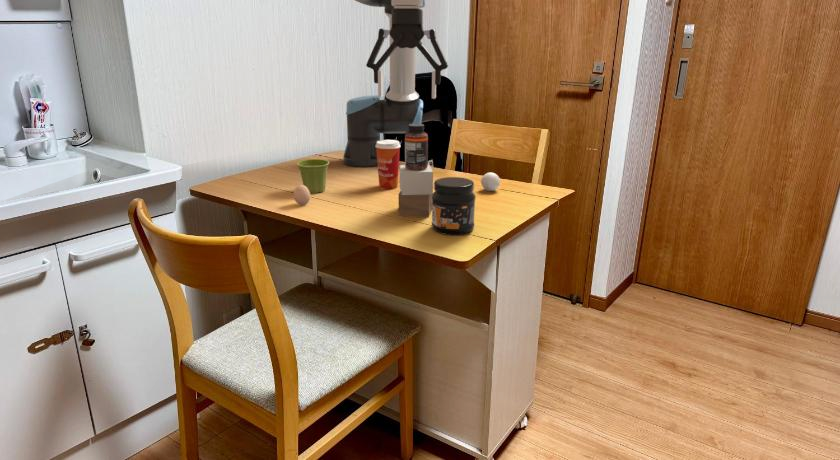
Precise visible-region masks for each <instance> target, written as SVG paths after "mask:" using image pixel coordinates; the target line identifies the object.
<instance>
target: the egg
mask: <svg viewBox="0 0 840 460" xmlns="http://www.w3.org/2000/svg"><path fill="white" fill-rule="evenodd" d="M293 199H294V201H295V203H297V204H298V205H299V206H305V205H307V204H308V203H309V202H310V200H311V193H310V192H309V190H308V188H307V187H306V186H304V185H303V184H300V185H297V186H296V188H295V189H294V192H293Z"/></svg>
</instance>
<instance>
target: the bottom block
mask: <svg viewBox="0 0 840 460" xmlns="http://www.w3.org/2000/svg"><path fill="white" fill-rule="evenodd" d="M397 195H398V216H399V217H413V216H414V217H416V218H417V217H418V218H429V217H430V215H431V214H432V194H427V195H402V193H401V190H400V191H399V193H398V194H397Z"/></svg>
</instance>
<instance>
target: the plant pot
mask: <svg viewBox="0 0 840 460" xmlns="http://www.w3.org/2000/svg"><path fill="white" fill-rule="evenodd" d="M329 165H330V161H329V160H327V159H321V158H319V159H318V158H317V159H316V158H310V159H304V160H300V161H298V162H297V163H296V166H297V167H298V170H299V171H300V176H301V180H302V185H304V186H306V187H307V188H308V190H309V192H310V194H317V193H323V192H325V190H326V186H327V185H326V184H327V174H328V173H327V171H328V168H329V167H328V166H329Z"/></svg>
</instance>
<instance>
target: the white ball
mask: <svg viewBox="0 0 840 460" xmlns="http://www.w3.org/2000/svg"><path fill="white" fill-rule="evenodd" d="M480 182H481V186H482V188H483V189H484V190H485V191H488V192H493V191H496V190H497V189H498V188H499V187H500V183H501V180H500V177H499V175H497V174H496V173H494V172H489V171H488V172H487V173H485V174H484V175H482V178H481V180H480Z"/></svg>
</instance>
